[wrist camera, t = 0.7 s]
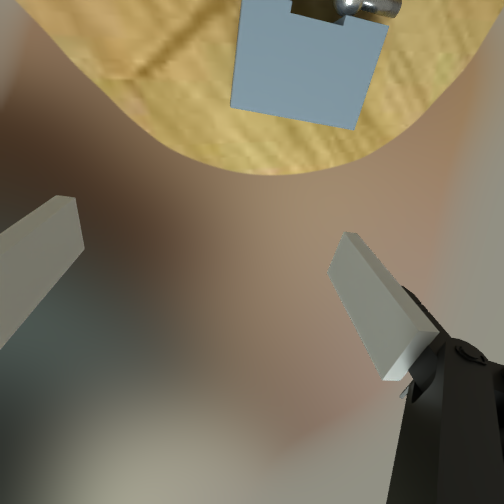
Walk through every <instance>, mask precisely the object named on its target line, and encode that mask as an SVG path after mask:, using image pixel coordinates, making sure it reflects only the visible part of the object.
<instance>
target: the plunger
mask: <svg viewBox="0 0 504 504" xmlns="http://www.w3.org/2000/svg"><path fill="white" fill-rule="evenodd" d="M333 4H334V8H335V11H336V12H337V13H338V14H339V15H340V16H342V17H344V16H345V15H348V16H353V15H355V14H356V13H357V12H358V11H359V10H363V11H367V12H370V13H374V14H378V15H382V16H386V17H390V18H395V17H396V15H397V14H398V12H399V10H400V8H401V4H402V0H333Z"/></svg>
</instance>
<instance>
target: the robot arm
mask: <svg viewBox="0 0 504 504" xmlns="http://www.w3.org/2000/svg"><path fill="white" fill-rule="evenodd" d="M83 250H84V243H83V239H82V233H81V227H80V222H79V216H78V211H77V206H76V200H75V198H73V197H65V196H58V195H57V196H55V197H53V198H52V199H50V200H49V201H48V202H46V203H44V204H43V205H42V206H40V207H39V208H37V209H36V210H34V211H33V212H31V213H30V214H28V215H27V216H25V217H24V218H23V219H21V220H20V221H18V222H17V223H15V224H14V225H12V226H11V227H9V228H8V229H7V230H5V231H4V232H2V233H1V234H0V349H1V348H2V347H3V346H4V344H5V343H6V342H7V341H8V340H9V338H10V337H11V336H12V335H13V334H14V332H15V331H16V330H17V329H18V327H19V326H20V325H21V324H22V323H23V322H24V321H25V319H26V318H27V317H28V316H29V315H30V313H31V312H32V311H33V310H34V309H35V307H36V306H37V305H38V304H39V303H40V301H41V300H42V299H43V298H44V297H45V295H46V294H47V293H48V292H49V291H50V289H51V288H52V287H53V286H54V285H55V283H56V282H57V281H58V280H59V279H60V278H61V276H62V275H63V274H64V273H65V272H66V270H67V269H68V268H69V267H70V266H71V264H72V263H73V262H74V261H75V260H76V258H77V257H78V256H79V254H80V253H81V252H82V251H83ZM327 273H328V276H329V278H330V280H331V281H332V283H333V285H334V287H335V289H336V291H337V293H338V295H339V297H340V299H341V301H342V303H343V305H344V307H345V309H346V311H347V313H348V315H349V317H350V319H351V321H352V323H353V324H354V326H355V328H356V330H357V332H358V334H359V336H360V338H361V340H362V342H363V344H364V346H365V348H366V350H367V352H368V354H369V355H370V358H371V360H372V362H373V363H374V365H375V367H376V369H377V371H378V373H379V375H380V377H381V379H382V380H393V381H400V380H401V379H402V378H403V377H404V375H405V374H406V373H407V372H408V371H409V373H410V374H411V376H412V378H413V380H412V382H411V383H410V384H409V385H408V386H407V387H406V389H405V390H404V391H403V392H402V394H401V395H400V398H404V396H405V395H407V398H406V404H405V409H404V414H403V419H402V424H401V430H400V435H399V440H398V445H397V450H396V455H395V461H394V466H393V471H392V476H391V481H390V486H389V492H388V497H387V502H386V504H504V365H500V364H497V363H494V362H491V361H488V359H487V358H486V357H485V356H484V354H483V353H482V352H480V351H479V350H478V349H477V348H475V347H474V346H472V345H471V344H469V343H467V342H465V341H463V340H460V339H456V338H451V337H450V336H449V334H448V333H447V332H446V331H445V330H444V329H443V327H442V326H441V325H440V324H439V323H438V322H437V321H436V320H435V318H434V317H433V316H432V315H431V314H430V313H429V312H428V310H427V309H426V308H425V307H424V305H421V302H420V301H419V300H418V298H417V297H416V296H415V295H414V294H413V293H412V292H410V291H409V290H408V289H406V288H405V287H404V286H401V285H400V284H399V283H398V282H397V281H396V279H395V278H394V277H393V276H392V275H391V273H390V272H389V271H388V270H387V269H386V267H385V266H384V265H383V264H382V263H381V261H380V260H379V259H378V258H377V257H376V255H375V254H374V253H373V252H372V251H371V250H370V248H369V247H368V246H367V245H366V244H365V242H364V241H363V240H362V239H361V238H360V236H359V235H358V234H357V233H350V232H344V233H343V235H342V237H341V240H340V243H339V245H338V247H337V250H336V252H335V255H334V257H333V260H332V262H331V264H330V267H329V269H328V272H327Z"/></svg>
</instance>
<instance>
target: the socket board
mask: <svg viewBox="0 0 504 504" xmlns="http://www.w3.org/2000/svg"><path fill="white" fill-rule="evenodd" d="M291 6H292V1H290V0H242V1H241V9H240V18H239V27H238V36H237V46H236V55H235V64H234V73H233V82H232V91H231V100H230V107H231V108H236V109H242V110H247V111H252V112H258V113H263V114H269V115H274V116H279V117H285V118H290V119H296V120H301V121H307V122H312V123H317V124H323V125H328V126H334V127H339V128H344V129H350V130H354V129H355V126H356V123H357V120H358V117H359V114H360V111H361V108H362V105H363V102H364V99H365V96H366V93H367V90H368V87H369V84H370V81H371V79H372V76H373V73H374V70H375V67H376V64H377V61H378V58H379V55H380V52H381V49H382V46H383V43H384V40H385V37H386V34H387V31H388V28H389V26H387V25H383V24H379V23H375V22H372V21H368V20H364V19H360V18H356V17H352V16H348V15H345V16H344V17H342V18H340V19H339V20H337V21H335V22H334V23H329V22H325V21H321V20H317V19H313V18H309V17H305V16H301V15H297V14H293V13H290V11H291Z"/></svg>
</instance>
